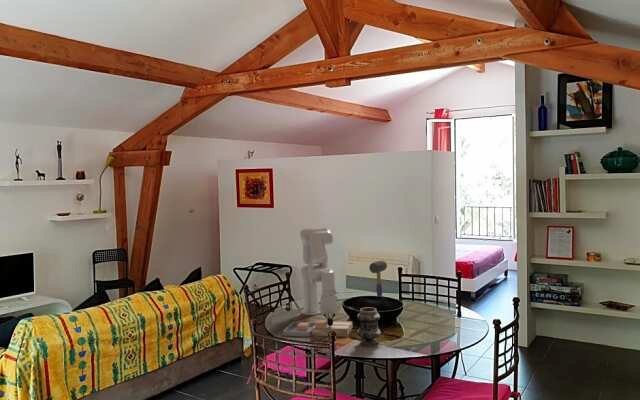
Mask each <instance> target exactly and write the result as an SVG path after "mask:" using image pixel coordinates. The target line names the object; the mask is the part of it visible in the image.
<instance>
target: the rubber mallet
mask: <svg viewBox="0 0 640 400" xmlns="http://www.w3.org/2000/svg"><path fill="white" fill-rule="evenodd" d="M387 265H388V264H387V262H386V261H385V260H377V261H374V262H372V263H370V265H368V267H369V271H370V272H371V274H376V298H377V297H382V298H383V288H382V287H383V286H382V278H381V273H382V272H383V271H385V270H386V269H387V267H388V266H387Z"/></svg>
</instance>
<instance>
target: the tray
mask: <svg viewBox="0 0 640 400" xmlns="http://www.w3.org/2000/svg"><path fill="white" fill-rule="evenodd" d="M315 322H316V321H315ZM315 322H313V321H312V322H311V321H309V322H308V321H306V322H305V321H293V322H291V323H290V324H289V325H288V326H287V327H286V328H284V330H283V331H282V337H307V338H308V337H309V338H310V337H311V336H313V335H312V328H313V327H314V326H315ZM299 323H310V328H309V329H308V331H297V325H298V324H299Z"/></svg>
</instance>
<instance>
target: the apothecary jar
mask: <svg viewBox="0 0 640 400" xmlns="http://www.w3.org/2000/svg"><path fill="white" fill-rule="evenodd" d="M356 318H357V320H358V321H359V328H358V329H357V336H358V337H359V338H361V339H363V340H360V342H359V344H360V346H364V347H375V346H378V345H379V344H380V341H378V340H376V339H377V338H378V337H380V335H381V333H382V332H381V330H380V328H379V323H378V322H379V320H380V318H381V315H380V314H379V312H378V311H377V308H375V307H369V306H368V307H367V306H366V307H362V308H360V309H359V313H358V314H357V316H356Z"/></svg>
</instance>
